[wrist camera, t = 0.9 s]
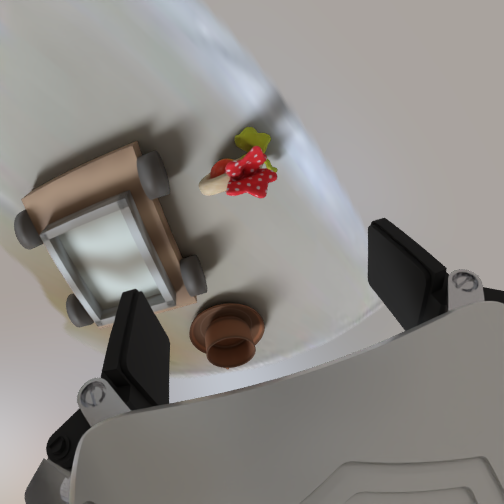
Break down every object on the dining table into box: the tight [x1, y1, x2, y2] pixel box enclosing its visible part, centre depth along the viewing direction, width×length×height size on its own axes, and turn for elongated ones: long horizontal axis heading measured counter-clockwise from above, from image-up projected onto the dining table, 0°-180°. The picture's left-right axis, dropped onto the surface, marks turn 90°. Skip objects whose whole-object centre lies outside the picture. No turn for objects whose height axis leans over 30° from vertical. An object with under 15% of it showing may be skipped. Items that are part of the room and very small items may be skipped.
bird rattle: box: [199, 127, 277, 198], centre depth 29 cm, size 6×11×9 cm
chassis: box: [14, 141, 207, 329], centre depth 32 cm, size 22×20×6 cm
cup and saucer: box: [189, 303, 265, 369], centre depth 44 cm, size 12×12×6 cm
